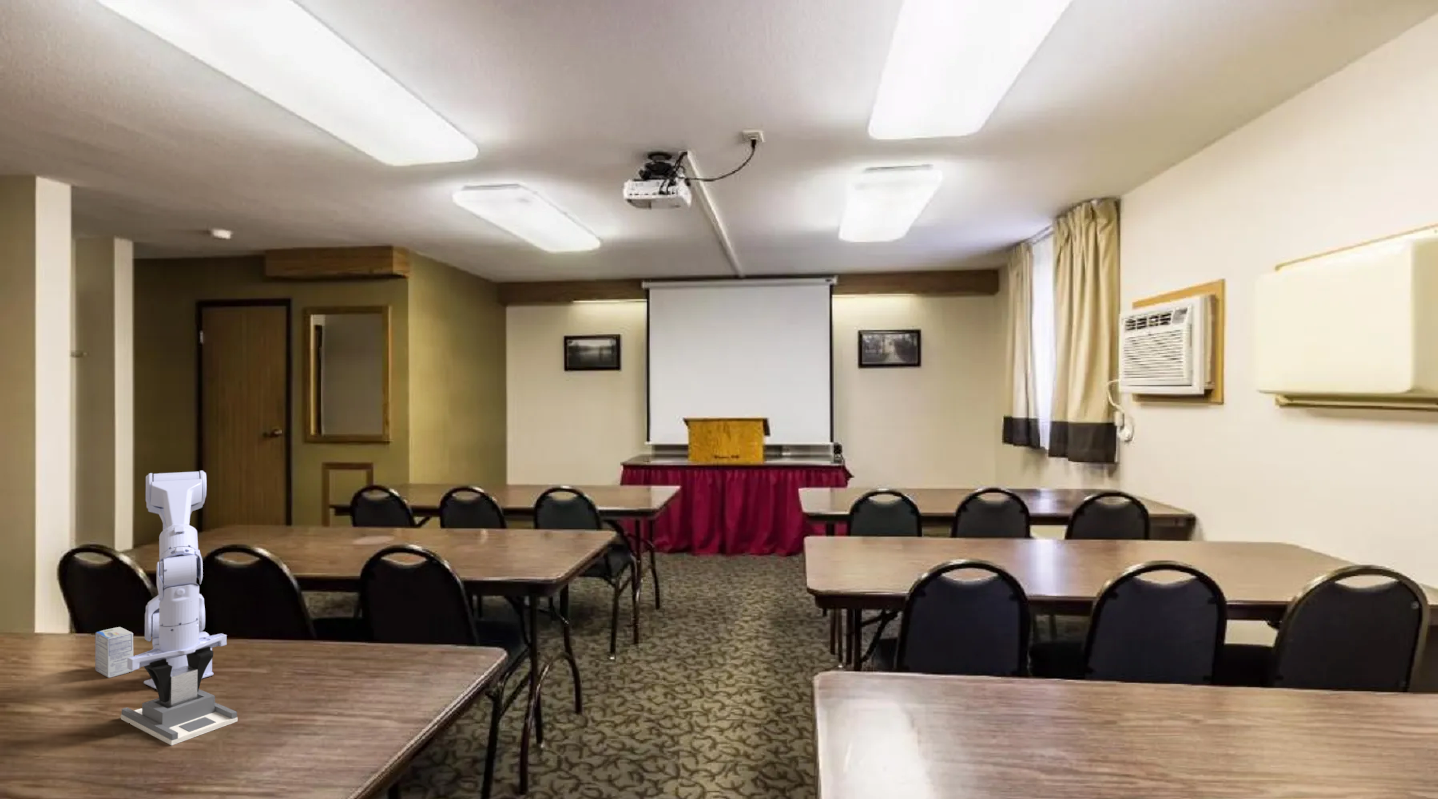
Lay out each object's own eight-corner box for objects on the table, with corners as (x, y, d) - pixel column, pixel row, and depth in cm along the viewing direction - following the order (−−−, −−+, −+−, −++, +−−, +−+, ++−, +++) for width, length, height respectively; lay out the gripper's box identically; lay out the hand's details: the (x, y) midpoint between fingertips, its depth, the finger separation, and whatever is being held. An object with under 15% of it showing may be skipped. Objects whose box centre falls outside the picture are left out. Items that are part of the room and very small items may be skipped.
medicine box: (134, 672, 146) (134, 632, 146) (107, 679, 142) (107, 638, 142) (120, 664, 150) (121, 626, 150) (94, 671, 146) (94, 631, 146)
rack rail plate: (185, 698, 132) (185, 679, 132) (237, 721, 122) (237, 700, 122) (120, 719, 123) (120, 698, 123) (171, 745, 114) (171, 722, 114)
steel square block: (186, 703, 126) (187, 665, 126) (197, 707, 124) (197, 669, 124) (160, 711, 122) (161, 672, 122) (171, 716, 120) (171, 677, 120)
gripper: (139, 637, 115) (139, 716, 115) (234, 614, 127) (234, 686, 127) (122, 630, 118) (121, 707, 118) (216, 608, 131) (216, 678, 131)
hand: (179, 696), depth 123 cm, fingers closed on steel square block, 4 cm apart
